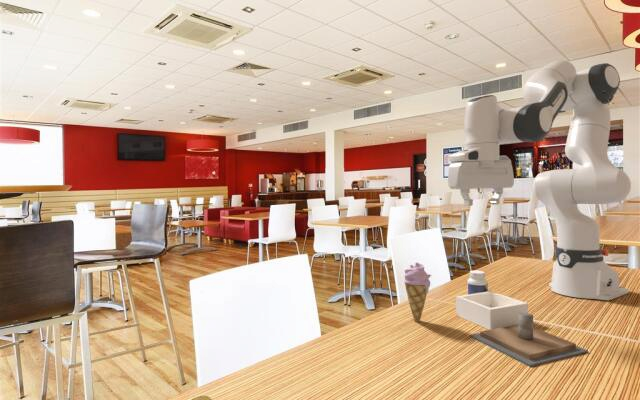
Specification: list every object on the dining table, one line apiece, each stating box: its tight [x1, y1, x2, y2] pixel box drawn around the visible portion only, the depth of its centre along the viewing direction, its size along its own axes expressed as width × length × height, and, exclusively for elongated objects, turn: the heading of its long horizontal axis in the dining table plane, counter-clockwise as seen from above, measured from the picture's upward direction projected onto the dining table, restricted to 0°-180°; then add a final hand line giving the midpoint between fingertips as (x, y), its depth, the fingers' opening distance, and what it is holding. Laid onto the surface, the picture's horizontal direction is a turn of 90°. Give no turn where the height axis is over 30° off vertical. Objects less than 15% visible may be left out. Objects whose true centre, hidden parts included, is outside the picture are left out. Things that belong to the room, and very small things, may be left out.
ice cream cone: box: [403, 261, 432, 323], centre depth 98 cm, size 7×6×15 cm
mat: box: [469, 332, 589, 367], centre depth 83 cm, size 16×16×1 cm
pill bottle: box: [466, 269, 489, 295], centre depth 110 cm, size 5×5×10 cm
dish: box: [455, 290, 529, 330], centre depth 99 cm, size 12×12×5 cm
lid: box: [479, 312, 577, 360], centre depth 83 cm, size 13×13×6 cm
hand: (482, 205), depth 106 cm, fingers open, 8 cm apart
